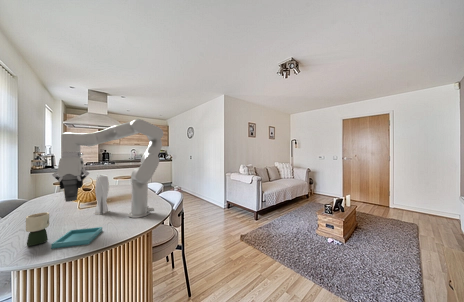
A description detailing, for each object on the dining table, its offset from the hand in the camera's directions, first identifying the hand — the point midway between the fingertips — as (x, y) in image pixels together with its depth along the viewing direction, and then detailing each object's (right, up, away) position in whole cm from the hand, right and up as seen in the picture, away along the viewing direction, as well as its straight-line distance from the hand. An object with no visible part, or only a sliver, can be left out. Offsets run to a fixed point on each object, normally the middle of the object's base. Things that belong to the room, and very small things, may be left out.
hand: (71, 187), depth 93 cm
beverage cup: (0, -7, 0) cm, 7 cm away
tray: (+14, -22, -11) cm, 28 cm away
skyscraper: (-3, -23, +25) cm, 34 cm away
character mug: (-1, -22, -15) cm, 27 cm away
